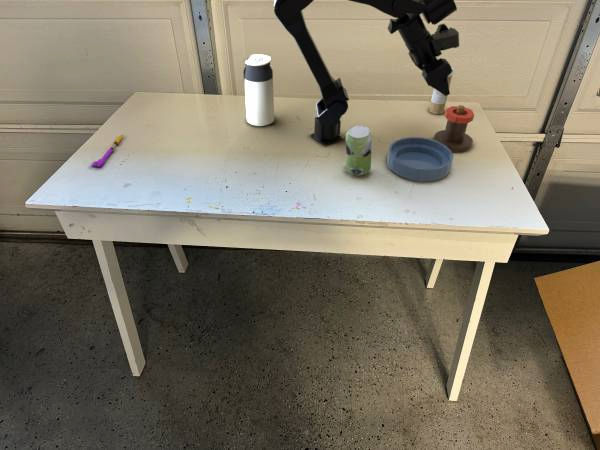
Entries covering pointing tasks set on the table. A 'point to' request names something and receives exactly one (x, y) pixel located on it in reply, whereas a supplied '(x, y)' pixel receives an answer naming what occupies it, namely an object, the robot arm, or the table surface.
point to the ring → (455, 118)
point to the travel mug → (259, 90)
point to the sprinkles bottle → (439, 99)
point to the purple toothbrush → (107, 153)
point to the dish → (419, 158)
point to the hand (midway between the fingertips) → (442, 87)
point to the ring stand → (455, 135)
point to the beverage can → (358, 150)
